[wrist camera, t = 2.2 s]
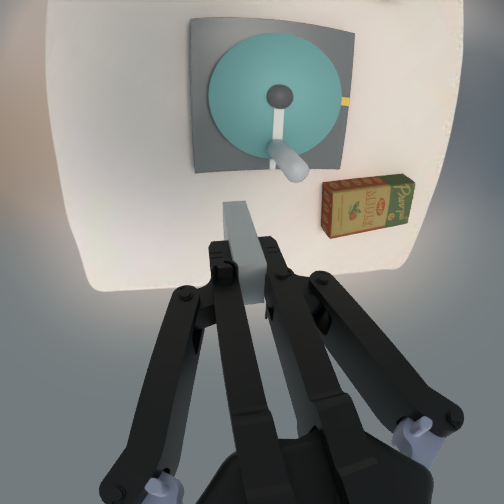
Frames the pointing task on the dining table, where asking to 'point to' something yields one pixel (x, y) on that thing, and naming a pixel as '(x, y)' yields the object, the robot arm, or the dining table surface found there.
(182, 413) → the robot arm
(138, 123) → the dining table surface
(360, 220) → the carton
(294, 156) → the dial
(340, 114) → the base plate
